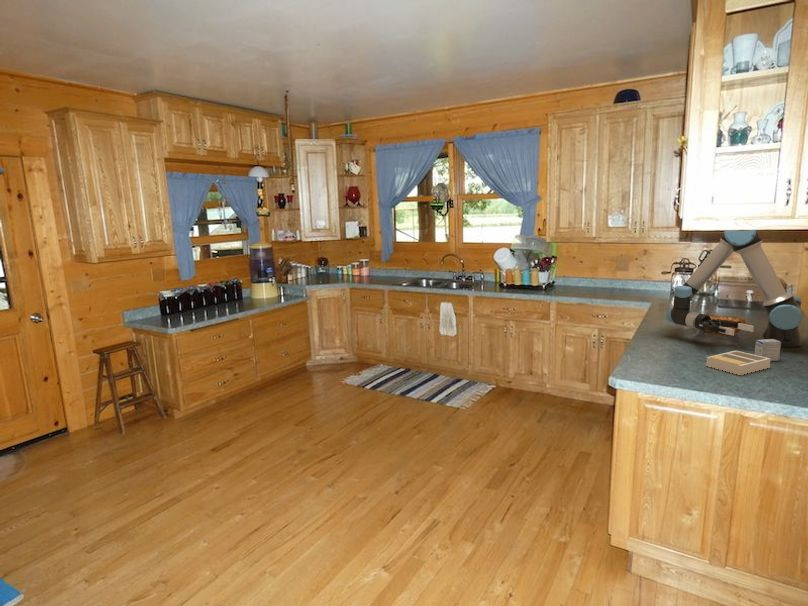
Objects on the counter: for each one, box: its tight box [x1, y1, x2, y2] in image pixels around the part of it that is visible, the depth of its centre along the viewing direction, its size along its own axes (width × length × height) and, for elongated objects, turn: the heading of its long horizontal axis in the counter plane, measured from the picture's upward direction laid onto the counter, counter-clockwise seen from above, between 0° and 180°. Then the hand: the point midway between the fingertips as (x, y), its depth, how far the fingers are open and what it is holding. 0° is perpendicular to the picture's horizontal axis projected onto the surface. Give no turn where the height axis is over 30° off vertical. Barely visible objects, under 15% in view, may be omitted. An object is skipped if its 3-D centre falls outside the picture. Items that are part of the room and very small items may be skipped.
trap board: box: [705, 350, 771, 376], centre depth 204 cm, size 19×14×4 cm
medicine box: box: [754, 339, 782, 362], centre depth 211 cm, size 8×4×9 cm, turn 92°
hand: (743, 330), depth 219 cm, fingers open, 13 cm apart
